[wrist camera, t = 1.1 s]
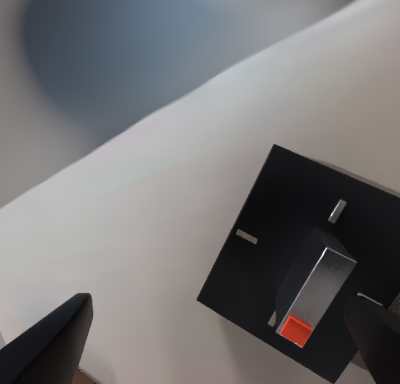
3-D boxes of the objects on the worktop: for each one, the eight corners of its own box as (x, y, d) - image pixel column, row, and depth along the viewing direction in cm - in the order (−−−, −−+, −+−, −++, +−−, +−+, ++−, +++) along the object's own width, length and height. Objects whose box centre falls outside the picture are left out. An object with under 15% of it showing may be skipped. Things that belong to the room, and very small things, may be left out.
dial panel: (419, 210, 16) (453, 220, 13) (324, 351, 19) (334, 387, 16) (273, 147, 18) (274, 143, 15) (206, 281, 21) (195, 301, 18)
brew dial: (313, 226, 15) (327, 248, 11) (336, 237, 15) (359, 264, 11) (275, 292, 16) (275, 335, 12) (295, 304, 16) (303, 352, 12)
